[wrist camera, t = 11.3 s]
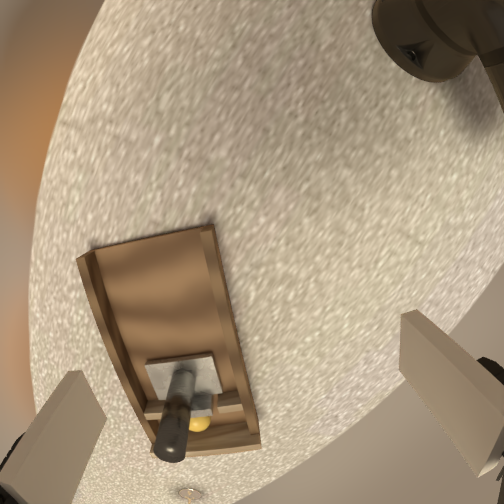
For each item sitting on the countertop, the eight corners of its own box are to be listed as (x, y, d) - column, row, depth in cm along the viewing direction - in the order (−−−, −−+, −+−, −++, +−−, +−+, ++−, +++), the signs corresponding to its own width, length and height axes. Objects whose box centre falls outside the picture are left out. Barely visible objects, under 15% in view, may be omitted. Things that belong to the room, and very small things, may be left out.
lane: (90, 250, 36) (67, 263, 30) (213, 224, 36) (209, 233, 30) (159, 430, 43) (152, 458, 37) (258, 420, 44) (261, 449, 38)
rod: (146, 361, 39) (116, 434, 25) (212, 352, 39) (205, 430, 25) (162, 402, 40) (144, 476, 27) (224, 395, 40) (223, 473, 27)
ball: (188, 426, 41) (182, 402, 41) (215, 424, 41) (209, 399, 42) (182, 437, 37) (176, 411, 38) (211, 434, 37) (205, 408, 38)
